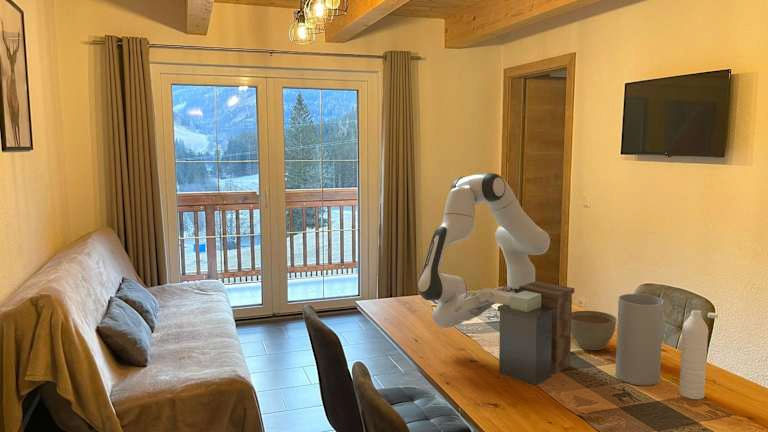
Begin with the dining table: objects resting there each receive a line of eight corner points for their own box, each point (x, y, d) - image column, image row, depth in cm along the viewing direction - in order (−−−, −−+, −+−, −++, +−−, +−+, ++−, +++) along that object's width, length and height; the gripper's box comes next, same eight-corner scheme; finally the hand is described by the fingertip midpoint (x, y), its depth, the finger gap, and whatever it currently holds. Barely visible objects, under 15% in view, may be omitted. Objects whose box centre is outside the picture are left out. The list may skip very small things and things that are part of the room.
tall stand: (534, 354, 198) (535, 281, 194) (572, 365, 188) (574, 288, 184) (518, 362, 191) (519, 286, 188) (556, 374, 181) (558, 294, 178)
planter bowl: (622, 345, 205) (623, 315, 204) (604, 358, 194) (605, 327, 192) (579, 335, 216) (580, 307, 215) (559, 347, 205) (560, 317, 203)
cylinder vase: (656, 390, 169) (660, 307, 166) (611, 381, 176) (614, 301, 172) (662, 374, 180) (666, 297, 176) (619, 367, 186) (622, 291, 183)
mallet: (490, 295, 193) (490, 283, 192) (541, 306, 179) (541, 294, 178) (476, 300, 187) (476, 288, 187) (526, 312, 173) (527, 299, 173)
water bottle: (675, 394, 166) (679, 310, 162) (683, 387, 170) (688, 305, 167) (708, 404, 159) (714, 317, 156) (716, 397, 164) (721, 312, 161)
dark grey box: (514, 364, 190) (515, 299, 187) (553, 376, 180) (554, 308, 177) (496, 373, 183) (497, 306, 180) (535, 386, 173) (537, 315, 170)
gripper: (446, 302, 188) (476, 288, 178) (484, 290, 202) (513, 276, 192) (454, 321, 186) (484, 307, 177) (491, 307, 200) (521, 294, 191)
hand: (500, 291), depth 185 cm, fingers open, 8 cm apart
